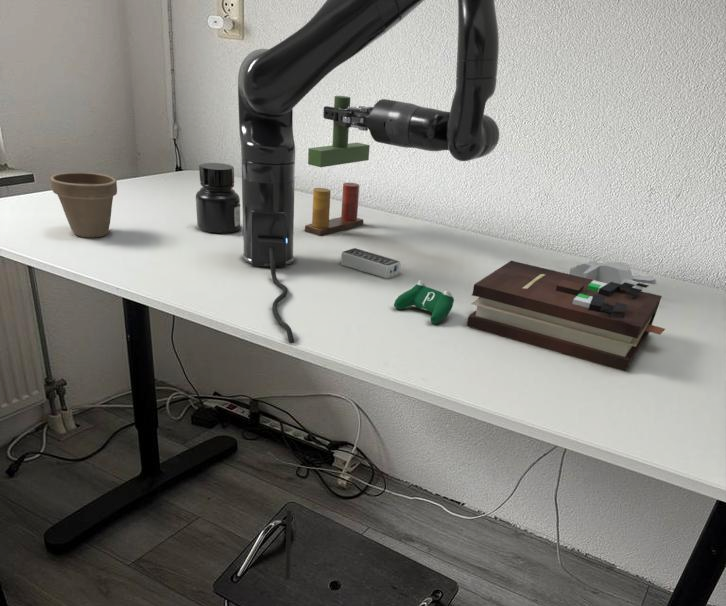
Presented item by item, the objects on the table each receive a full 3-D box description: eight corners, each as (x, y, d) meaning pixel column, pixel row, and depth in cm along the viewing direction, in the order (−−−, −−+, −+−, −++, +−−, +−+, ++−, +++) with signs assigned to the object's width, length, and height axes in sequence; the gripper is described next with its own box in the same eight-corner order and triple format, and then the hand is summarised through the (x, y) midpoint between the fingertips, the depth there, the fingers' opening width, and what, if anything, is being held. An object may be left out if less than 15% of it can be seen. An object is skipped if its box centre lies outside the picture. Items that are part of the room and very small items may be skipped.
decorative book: (501, 251, 115) (680, 292, 104) (493, 293, 119) (664, 337, 108) (457, 277, 101) (658, 328, 90) (449, 324, 105) (641, 378, 94)
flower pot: (122, 225, 135) (115, 172, 129) (124, 241, 126) (117, 185, 121) (60, 225, 132) (51, 170, 126) (58, 242, 123) (48, 183, 117)
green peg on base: (320, 167, 133) (323, 99, 126) (307, 164, 135) (309, 96, 128) (368, 160, 144) (373, 96, 137) (356, 157, 145) (360, 94, 138)
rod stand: (320, 235, 141) (322, 193, 136) (304, 230, 143) (306, 188, 138) (363, 225, 151) (366, 185, 146) (347, 220, 153) (350, 181, 148)
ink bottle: (248, 232, 138) (247, 170, 131) (208, 236, 134) (205, 172, 127) (228, 220, 144) (226, 160, 137) (190, 223, 140) (186, 162, 133)
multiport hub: (354, 259, 129) (354, 247, 128) (400, 273, 124) (401, 261, 123) (340, 264, 126) (340, 251, 125) (386, 278, 121) (388, 266, 120)
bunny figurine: (588, 254, 131) (663, 266, 122) (584, 280, 134) (656, 293, 125) (564, 261, 125) (640, 274, 116) (560, 289, 128) (634, 303, 119)
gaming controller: (442, 333, 107) (462, 303, 107) (434, 321, 103) (455, 289, 104) (399, 316, 111) (418, 286, 112) (390, 303, 108) (410, 273, 108)
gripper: (421, 100, 130) (352, 89, 138) (379, 103, 120) (308, 91, 128) (416, 143, 134) (350, 130, 142) (375, 148, 125) (307, 134, 133)
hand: (330, 111), depth 135 cm, fingers closed on green peg on base, 3 cm apart
